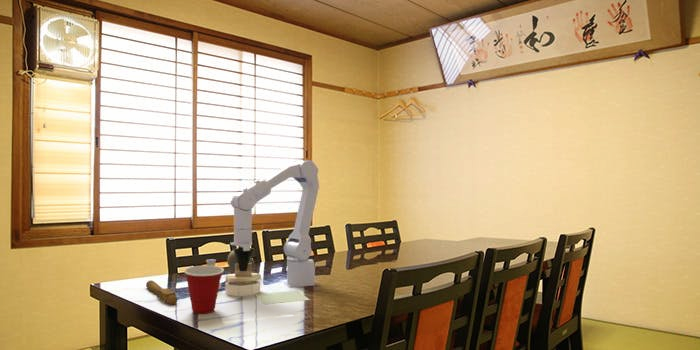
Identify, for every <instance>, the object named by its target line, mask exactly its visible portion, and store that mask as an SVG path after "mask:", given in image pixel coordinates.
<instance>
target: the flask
mask: <svg viewBox="0 0 700 350" xmlns="http://www.w3.org/2000/svg"><path fill="white" fill-rule="evenodd" d="M205 262H206V266H216V262H217V259H213V258H211V259H206V260H205ZM222 286H223V285H222V284H221V282H220V283H219V288H218V290H221V289H222V288H223V287H222Z"/></svg>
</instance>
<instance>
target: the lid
mask: <svg viewBox="0 0 700 350" xmlns="http://www.w3.org/2000/svg"><path fill="white" fill-rule="evenodd" d="M252 271H253V268H252V263H248V267H247V271H240V269H239V264H235V274H234V273H231V274H227V275H226V276H225V281H226V282H228V281H229V282H251V281H256V280H258V281H260V280H261V278H262V275H261V274H260V273H256V272H252Z"/></svg>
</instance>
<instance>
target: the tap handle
mask: <svg viewBox="0 0 700 350" xmlns="http://www.w3.org/2000/svg"><path fill="white" fill-rule="evenodd" d="M145 285H146V288H147V289H148V290H149V291H151V292H152V293H154V294H157V296H158V297H157V298H158V299H159V300H160V301H161V302H163V304H169V305H170V306H172V305H173V306H174V305H175V304H177V302H178V297H177V296H176V292H175V291H174V290H172V289H170V288H169V287H168V288H163V287H162V286H161V285H159V284H158V283H157V282H155V281H153V280H152V279H151V280H148V281H146V283H145Z"/></svg>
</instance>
